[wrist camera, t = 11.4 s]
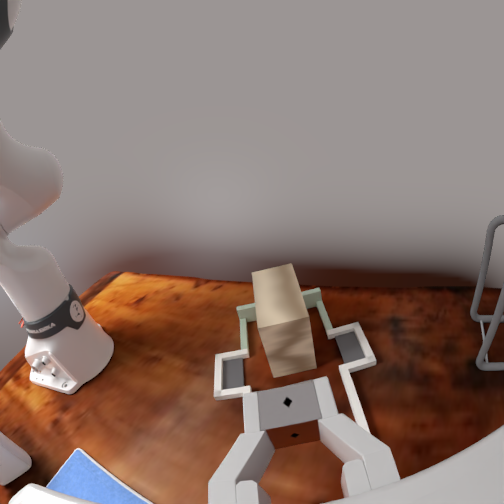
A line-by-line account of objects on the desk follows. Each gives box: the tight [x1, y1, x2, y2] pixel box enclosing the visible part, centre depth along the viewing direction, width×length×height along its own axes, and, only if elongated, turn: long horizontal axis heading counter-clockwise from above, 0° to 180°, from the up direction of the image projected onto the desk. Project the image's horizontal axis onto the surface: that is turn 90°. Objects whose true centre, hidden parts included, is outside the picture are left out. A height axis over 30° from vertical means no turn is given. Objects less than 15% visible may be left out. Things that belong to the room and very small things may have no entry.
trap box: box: [214, 288, 376, 433], centre depth 37 cm, size 22×27×3 cm
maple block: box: [252, 263, 317, 378], centre depth 41 cm, size 6×12×10 cm, turn 3°
